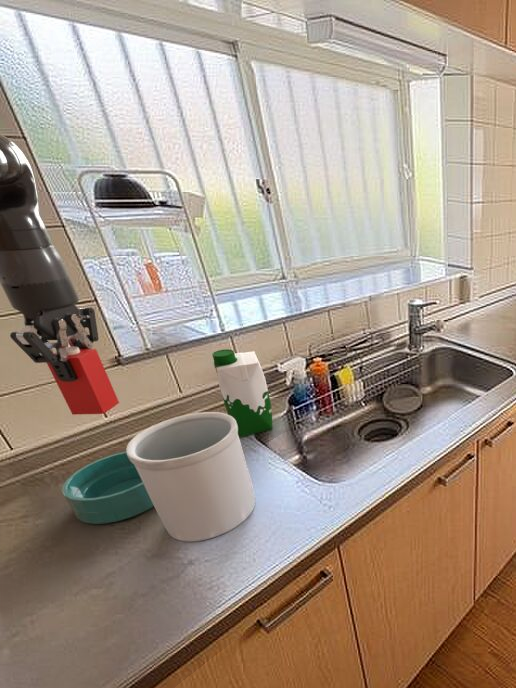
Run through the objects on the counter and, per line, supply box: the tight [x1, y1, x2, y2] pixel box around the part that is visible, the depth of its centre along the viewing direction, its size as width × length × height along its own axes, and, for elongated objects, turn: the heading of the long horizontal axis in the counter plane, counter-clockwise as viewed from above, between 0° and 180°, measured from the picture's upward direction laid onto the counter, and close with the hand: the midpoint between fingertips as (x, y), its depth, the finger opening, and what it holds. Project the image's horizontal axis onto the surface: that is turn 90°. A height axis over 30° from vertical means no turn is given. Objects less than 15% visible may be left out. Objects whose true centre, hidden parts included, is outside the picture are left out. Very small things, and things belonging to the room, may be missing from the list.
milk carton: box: [212, 348, 273, 438], centre depth 98 cm, size 9×9×20 cm
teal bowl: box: [61, 451, 154, 525], centre depth 78 cm, size 14×14×6 cm
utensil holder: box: [125, 411, 256, 542], centre depth 73 cm, size 15×15×18 cm
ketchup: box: [46, 346, 120, 415], centre depth 74 cm, size 5×4×12 cm
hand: (80, 374), depth 73 cm, fingers closed on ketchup, 4 cm apart
